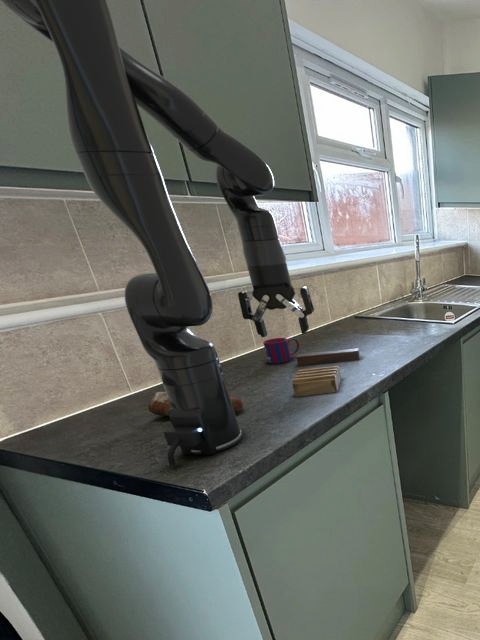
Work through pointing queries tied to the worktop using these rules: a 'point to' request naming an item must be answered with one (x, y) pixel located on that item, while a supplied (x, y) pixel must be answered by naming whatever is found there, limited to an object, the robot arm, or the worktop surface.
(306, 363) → the stop rail
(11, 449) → the worktop surface
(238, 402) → the bread
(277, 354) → the mug
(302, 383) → the rack
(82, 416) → the worktop surface
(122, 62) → the robot arm
